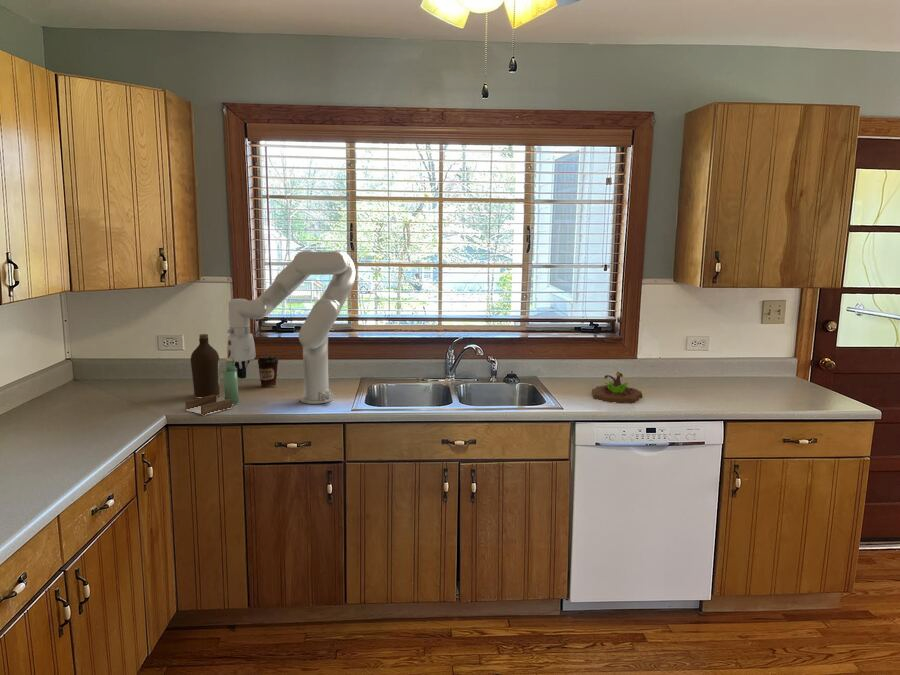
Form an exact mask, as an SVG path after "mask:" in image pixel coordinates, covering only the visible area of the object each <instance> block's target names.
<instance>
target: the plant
mask: <svg viewBox="0 0 900 675" xmlns="http://www.w3.org/2000/svg"><path fill="white" fill-rule="evenodd" d="M615 376H616V378H614V377H613V376H612V375H608V374H607V375H604V376H603V379H605V380H607V379H608V378H611V379H612V381H610V380H609V381H608V382H605V381H604V385H598V386H596V387H595V388H592V389H591V395H592V399H593V400H597V399H598V400H599V401H601V400H602V402H605V401H607V402H606V403H612V402H616V403H615V404H632V403H634V404H636V403H637V402H639V400H640V399H642V398H643V393H642V390H641V391H640V390H639V389H637V388H635V387H628V385H629V382H628V381H627V382H624V383H622V381H621V378H623V377H624V375H623V374H622V373H621V372H619V371H617V372H616V374H615ZM639 398H640V399H639ZM636 401H637V402H636ZM635 402H636V403H635Z"/></svg>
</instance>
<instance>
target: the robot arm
mask: <svg viewBox="0 0 900 675" xmlns="http://www.w3.org/2000/svg"><path fill="white" fill-rule="evenodd" d="M356 271H357V270H356V266H355V264H354V261H353V260H352V258H351V257H350V254H348V253H347V252H345V251H344V250H339V249H338V250H337V249H336V250H333V251H311V250H303V251H299V252H298V253H297V254H296V255H295V256H294V258H293V259H292V260H291V261H290V262H289V263H288V264H287V266H286V267H284V268H283V269H282V270H281V271H280V272H279V273H277V275H276V276H275V278H274V281H273V282H272V283H271V284H270V286H268V287H267V288H266V290H264V292H262V293H261V294H260V295H259V296H258V297H257V298H255V299H251V300H248V299H246V298H232V299H230V300H229V301H228V304H227V305H228V324H229V328H228V329H227V331H226V332H227V334H229V335H228V337H227V345H226V353H227V354H226V356H227V357H229V358H233V361H234V368H236V370H237V376H238V379H243V380H244V379H246V378H247V368H248V365H249V364H250V363H251V362H253V361H254V359H255V358H256V346H255V340H254V335H253V333H251V320H261V319H264V318H266V317H267V316H268V315H270V314H271V313H273V311H274V310H275V309H276V308H277V307H278V306H279V305H280V304H282V302H283V301H284V300H285V299H286V298H288V297H289V296H290V295H292V294H293V292H295V291H296V289H298V288H299V287H300V286H301V285H302V284H303V283H304V282H305V281H306V280H307V279H308V278H309V277H310V276H316V275H317V276H322V275H329V276H331V275H332V278H331V280H330V281H329V283H328V285H327V287H326V289H325V290H324V293H323V294H322V296H321V297H320V298H319V299H318V300H317V301H316V302H315V303H314V305H313V306H312V308H311V310H310V312H309V313H308V315H307V317H306V319H305V321H304V322H303V324H302V326H301V327H300V330H299V332H298V340H299V344H300V345H301V346H302V366H303V367H302V368H303V369H302V370H303V373H302V374H303V395H301V396H300V399H299V401H300V402H301V403H303V404H308V405H319V404H321V405H322V404H325V403H326V404H327V403H330V402H332V401H333V400H334V397H335V393H332V392H331V391H332V390H331V388H329V387H330V385H329V333H330V331H331V329H332V327H333V326H334V323H335V322H336V320H337V318H338V317H339V315H340V313H341V310H342V308H343V306H344V304H345V303H346V301H347V298H348V297H349V295H350V293H351V291H352V289H353V287H354V284H355V281H356V277H357V276H356ZM227 357H226V358H227Z"/></svg>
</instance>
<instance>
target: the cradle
mask: <svg viewBox="0 0 900 675" xmlns="http://www.w3.org/2000/svg"><path fill="white" fill-rule="evenodd" d="M184 403H185V410H186V409H190V408H194V407H198V406H201V414H203V415H205V414H207V413H210V412H214V411H218V410H223V409H227V408H231V407H232V408H233V406H232V399H226V400H225V399H223V400H218V401H217V397H216V395H210V396H206V397H202V398H198V399H197V398H194V399H190V400H185V401H184Z"/></svg>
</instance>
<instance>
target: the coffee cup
mask: <svg viewBox="0 0 900 675" xmlns="http://www.w3.org/2000/svg"><path fill="white" fill-rule="evenodd" d="M277 357H278V356H277V355H274V354H273V355H272V354H271V355H262V356H261V355H260V356H259V358H258V360H257V365H258V374H259V380H260V381H259V382H260V387H261V388H275V387H277V377H278V366H279V365H278V364H279V358H277Z"/></svg>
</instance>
